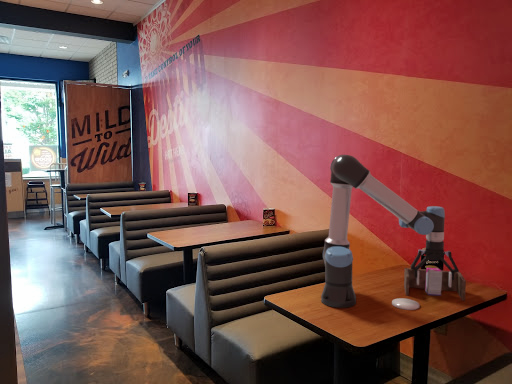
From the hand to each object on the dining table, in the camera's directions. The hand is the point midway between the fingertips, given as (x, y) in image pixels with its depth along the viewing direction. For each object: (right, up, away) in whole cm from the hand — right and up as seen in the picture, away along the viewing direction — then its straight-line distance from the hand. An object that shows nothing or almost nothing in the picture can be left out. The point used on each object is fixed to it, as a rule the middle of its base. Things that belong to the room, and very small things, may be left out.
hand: (433, 285), depth 180 cm
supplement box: (0, -4, 0) cm, 4 cm away
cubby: (0, -4, 0) cm, 4 cm away
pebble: (-18, -5, -13) cm, 23 cm away
